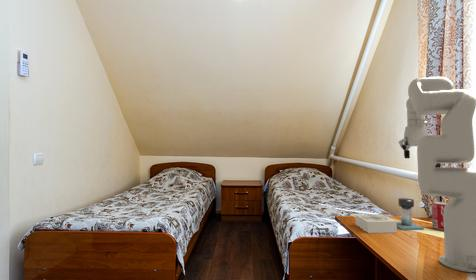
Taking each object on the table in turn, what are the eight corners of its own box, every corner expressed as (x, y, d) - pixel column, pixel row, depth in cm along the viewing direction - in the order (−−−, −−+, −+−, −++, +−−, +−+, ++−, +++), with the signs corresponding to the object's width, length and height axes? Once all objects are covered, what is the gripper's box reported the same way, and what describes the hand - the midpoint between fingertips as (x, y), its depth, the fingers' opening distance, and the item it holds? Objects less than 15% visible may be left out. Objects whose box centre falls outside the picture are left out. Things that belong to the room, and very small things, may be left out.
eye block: (396, 232, 132) (396, 221, 132) (367, 233, 131) (367, 221, 132) (381, 224, 145) (381, 214, 145) (355, 225, 144) (355, 214, 145)
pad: (423, 229, 136) (423, 227, 136) (402, 230, 135) (402, 227, 135) (410, 223, 146) (410, 221, 146) (390, 224, 145) (390, 222, 145)
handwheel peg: (409, 222, 144) (408, 198, 144) (417, 226, 137) (416, 200, 138) (396, 223, 144) (395, 198, 144) (403, 226, 137) (403, 200, 137)
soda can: (453, 229, 136) (453, 203, 136) (446, 232, 132) (446, 205, 132) (436, 225, 142) (435, 200, 142) (429, 228, 138) (429, 202, 138)
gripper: (428, 123, 151) (428, 157, 150) (394, 124, 150) (395, 158, 150) (438, 122, 143) (439, 158, 143) (403, 123, 142) (404, 158, 142)
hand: (416, 158), depth 146 cm, fingers open, 9 cm apart
